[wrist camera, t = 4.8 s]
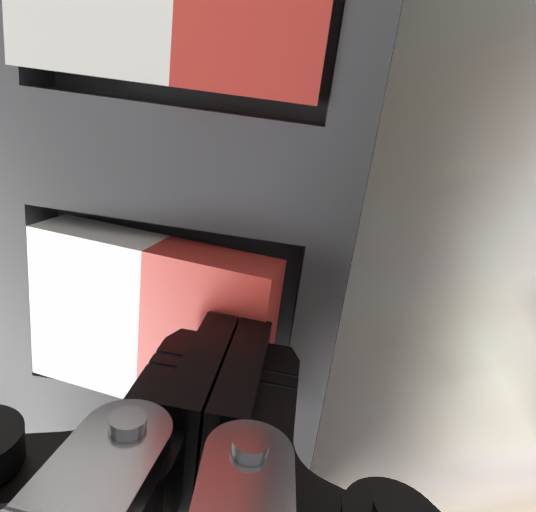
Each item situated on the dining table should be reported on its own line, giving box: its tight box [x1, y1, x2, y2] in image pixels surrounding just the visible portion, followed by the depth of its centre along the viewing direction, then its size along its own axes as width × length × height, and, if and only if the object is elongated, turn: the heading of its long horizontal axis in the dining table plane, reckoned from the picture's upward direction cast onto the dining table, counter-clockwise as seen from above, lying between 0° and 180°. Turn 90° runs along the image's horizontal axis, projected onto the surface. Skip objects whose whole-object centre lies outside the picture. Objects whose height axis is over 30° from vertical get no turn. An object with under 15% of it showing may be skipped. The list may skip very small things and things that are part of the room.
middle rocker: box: [26, 214, 287, 399], centre depth 12 cm, size 4×6×1 cm, turn 83°
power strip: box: [0, 0, 403, 470], centre depth 14 cm, size 22×9×5 cm, turn 173°
